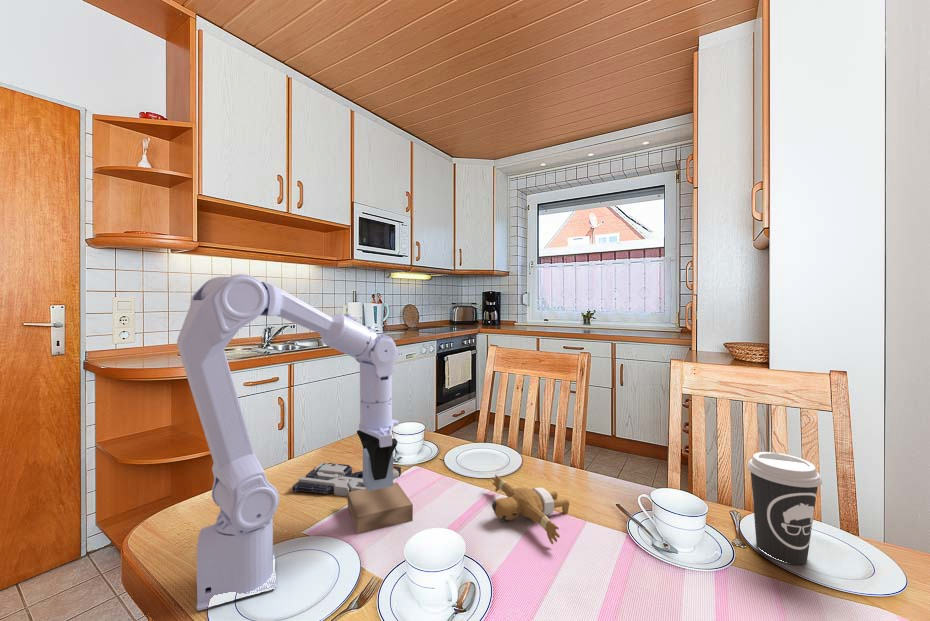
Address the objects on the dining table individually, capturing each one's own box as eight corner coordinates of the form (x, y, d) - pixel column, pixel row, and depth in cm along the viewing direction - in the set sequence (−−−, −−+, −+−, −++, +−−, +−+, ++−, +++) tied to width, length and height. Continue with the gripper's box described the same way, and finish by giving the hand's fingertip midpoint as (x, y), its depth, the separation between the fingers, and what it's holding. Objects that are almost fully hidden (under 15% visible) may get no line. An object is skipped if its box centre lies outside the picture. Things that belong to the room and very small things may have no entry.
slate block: (368, 491, 71) (368, 457, 71) (362, 480, 75) (362, 448, 75) (393, 486, 73) (393, 453, 73) (386, 476, 77) (386, 445, 77)
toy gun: (404, 474, 96) (379, 507, 81) (328, 465, 100) (291, 495, 85) (404, 463, 96) (379, 493, 81) (328, 454, 99) (291, 482, 85)
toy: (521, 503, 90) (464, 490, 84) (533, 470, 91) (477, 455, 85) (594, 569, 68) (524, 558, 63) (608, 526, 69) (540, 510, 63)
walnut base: (357, 533, 70) (357, 516, 70) (347, 507, 79) (347, 492, 79) (412, 520, 75) (412, 504, 75) (397, 496, 84) (397, 482, 84)
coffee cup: (820, 550, 66) (822, 460, 66) (819, 581, 59) (822, 479, 59) (749, 528, 72) (751, 445, 72) (741, 553, 65) (743, 461, 65)
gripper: (409, 406, 69) (409, 485, 69) (387, 389, 82) (387, 455, 82) (367, 411, 66) (368, 493, 66) (351, 392, 79) (352, 461, 79)
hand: (376, 473), depth 74 cm, fingers closed on slate block, 4 cm apart
